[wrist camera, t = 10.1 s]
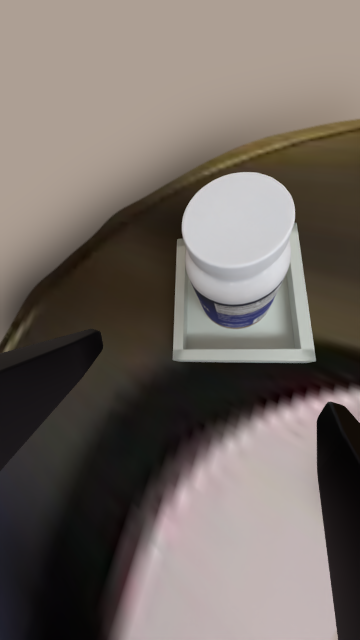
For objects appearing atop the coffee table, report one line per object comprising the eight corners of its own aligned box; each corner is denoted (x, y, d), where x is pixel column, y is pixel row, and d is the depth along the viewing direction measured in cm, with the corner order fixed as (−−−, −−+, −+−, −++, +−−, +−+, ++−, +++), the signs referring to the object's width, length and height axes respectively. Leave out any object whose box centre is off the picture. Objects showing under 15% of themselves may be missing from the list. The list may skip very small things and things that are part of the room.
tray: (306, 363, 16) (315, 361, 14) (179, 361, 18) (172, 359, 16) (290, 238, 19) (296, 222, 17) (182, 251, 21) (177, 239, 19)
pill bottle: (198, 275, 19) (166, 181, 10) (263, 263, 18) (293, 143, 9) (205, 335, 18) (174, 289, 9) (277, 326, 17) (331, 260, 7)
